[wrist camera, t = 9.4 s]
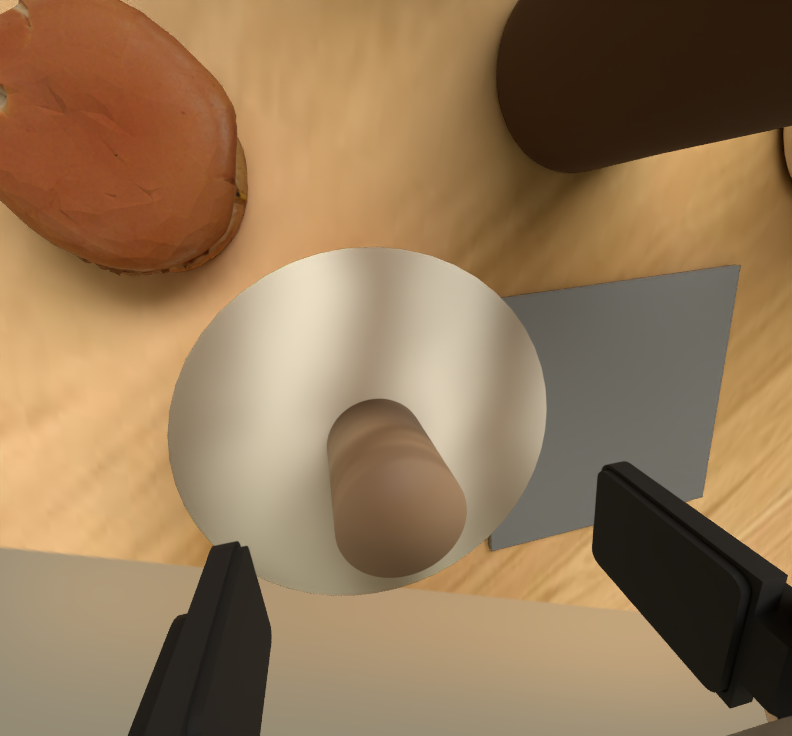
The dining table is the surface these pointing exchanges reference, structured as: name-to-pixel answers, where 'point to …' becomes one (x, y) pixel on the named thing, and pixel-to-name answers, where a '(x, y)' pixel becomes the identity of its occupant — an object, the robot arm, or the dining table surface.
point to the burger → (116, 138)
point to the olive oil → (641, 76)
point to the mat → (622, 390)
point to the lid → (357, 420)
